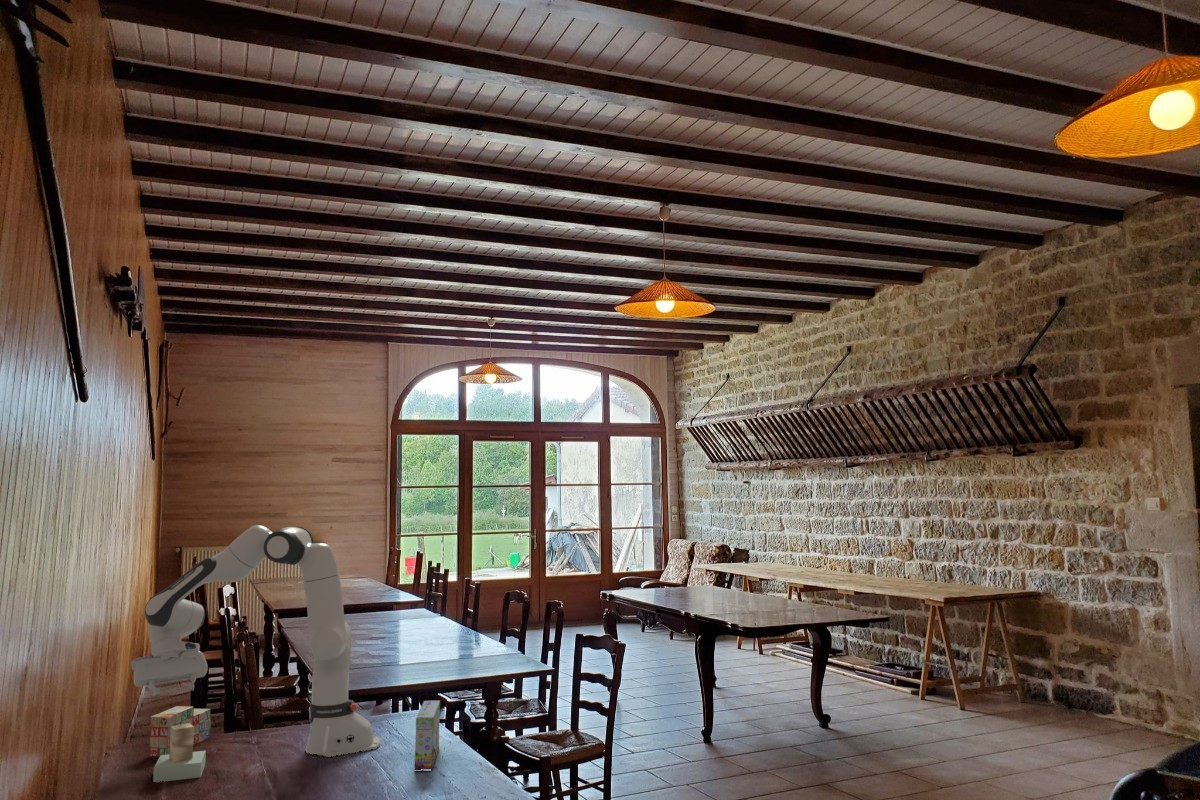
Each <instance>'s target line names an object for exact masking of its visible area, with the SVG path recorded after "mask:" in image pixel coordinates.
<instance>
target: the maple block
mask: <svg viewBox="0 0 1200 800" xmlns="http://www.w3.org/2000/svg"><path fill="white" fill-rule="evenodd" d="M193 732H194V726H192V725H191V724H190V723H187V724H181V725H175V726H171V728H170V754H169V759H170V760H171V761H172V762H173V763H175V762H180V761H185V760H190V759H193V752H194V745H193Z"/></svg>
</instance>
